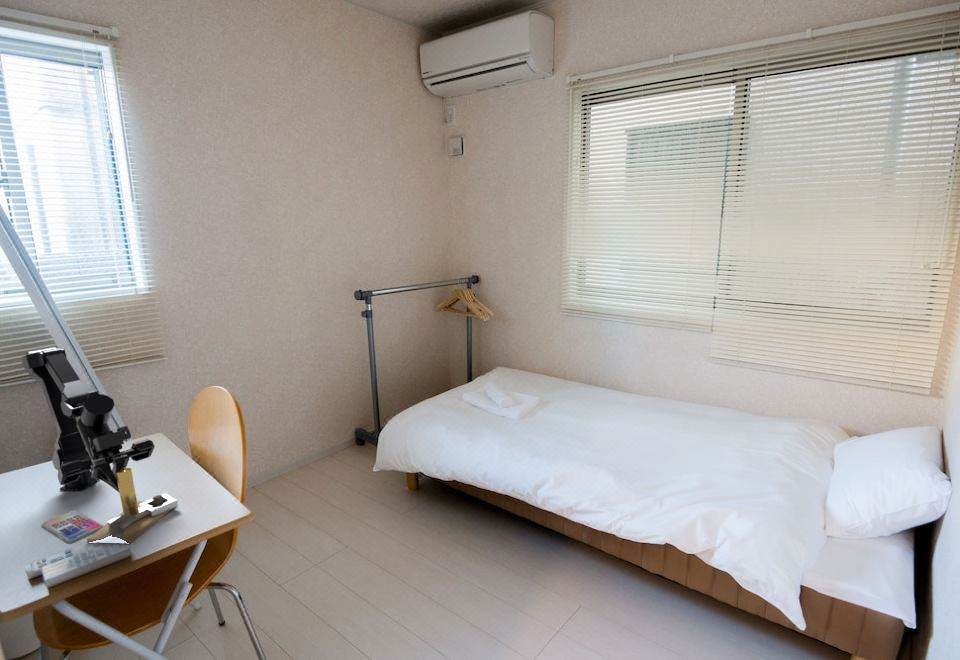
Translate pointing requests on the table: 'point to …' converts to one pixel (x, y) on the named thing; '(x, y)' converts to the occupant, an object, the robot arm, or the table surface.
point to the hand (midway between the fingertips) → (121, 491)
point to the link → (130, 498)
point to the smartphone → (72, 526)
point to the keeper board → (129, 525)
